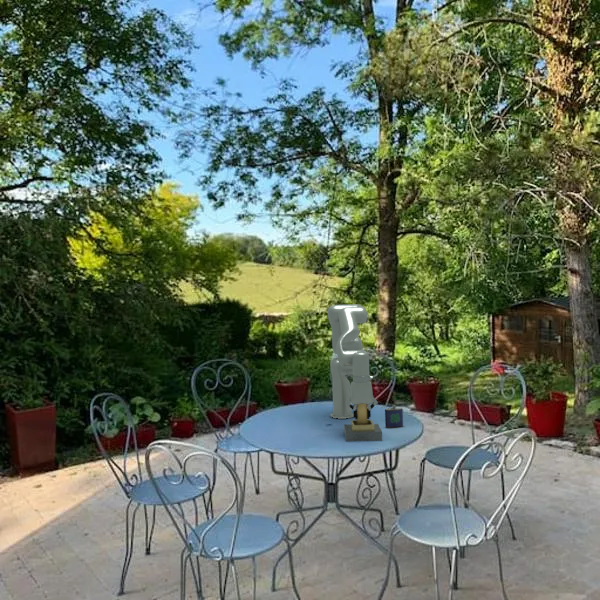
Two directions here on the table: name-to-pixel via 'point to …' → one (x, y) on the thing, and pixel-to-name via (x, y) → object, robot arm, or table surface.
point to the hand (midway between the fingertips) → (362, 418)
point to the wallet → (393, 417)
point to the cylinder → (362, 414)
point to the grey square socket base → (362, 432)
